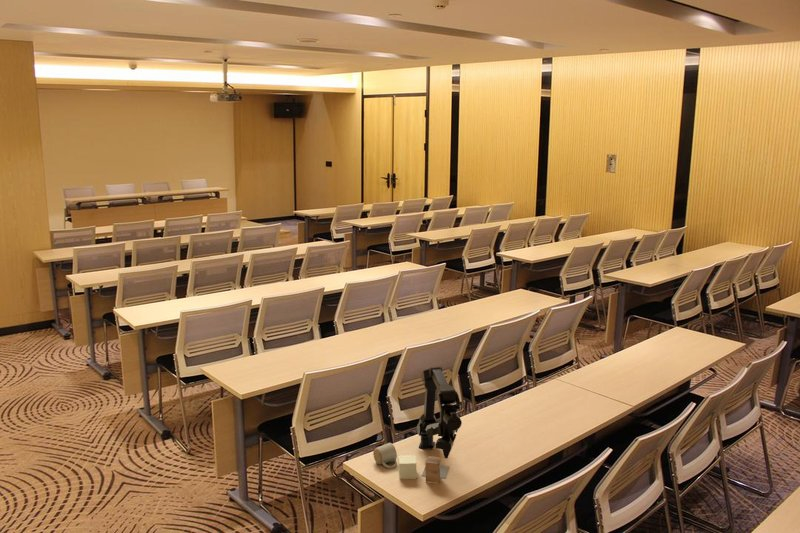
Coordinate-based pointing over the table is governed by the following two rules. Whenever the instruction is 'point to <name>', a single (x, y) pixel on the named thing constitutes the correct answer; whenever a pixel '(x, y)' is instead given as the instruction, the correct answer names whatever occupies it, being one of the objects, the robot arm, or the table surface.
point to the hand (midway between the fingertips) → (446, 455)
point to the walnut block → (432, 469)
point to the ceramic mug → (385, 454)
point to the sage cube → (407, 466)
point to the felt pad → (442, 471)
